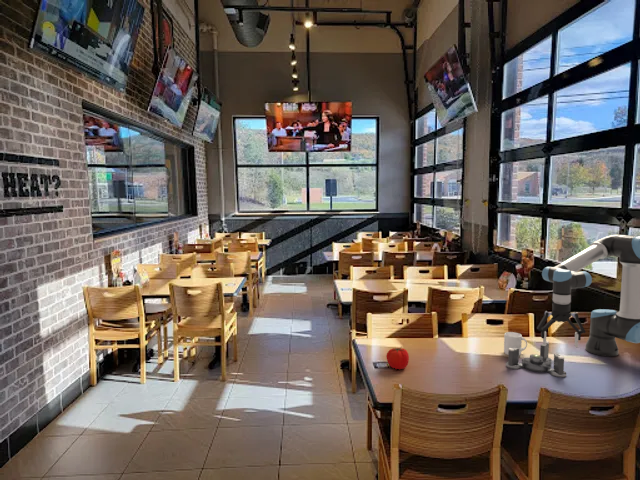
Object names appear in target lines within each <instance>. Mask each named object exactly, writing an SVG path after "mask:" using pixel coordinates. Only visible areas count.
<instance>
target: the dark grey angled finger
mask: <svg viewBox="0 0 640 480" xmlns="http://www.w3.org/2000/svg"><path fill="white" fill-rule="evenodd" d="M508 350H509V352H508V355H507V356H508V357H507V359H508V360H507V362H508V365H511V366H512V365H515V364H517V363H520V362H519V361H520V359H519V358H520V357H519V356H520V355H519V348H516V347H515V348H509V349H508Z"/></svg>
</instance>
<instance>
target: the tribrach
mask: <svg viewBox="0 0 640 480" xmlns="http://www.w3.org/2000/svg"><path fill="white" fill-rule="evenodd" d="M505 366H506V368H508V369H512V370H520V369H525V370H528V371H531V372H534V373H549V374H550V375H551V376H553V377H555V378H566V377H567V372H566V371H565V370H564V373H563V374H558V373H557V372H556V371H555V370H554V369H553V368H552V358H551V357H549V356H548V358H546V359H545V360H543V357H542V356H540V354H537V353H536V354H530V355H529V357H524V358H522V359H521V362H519V363H517V364H515V365H512V366H511V365H508V361H507V362H505Z"/></svg>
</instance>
